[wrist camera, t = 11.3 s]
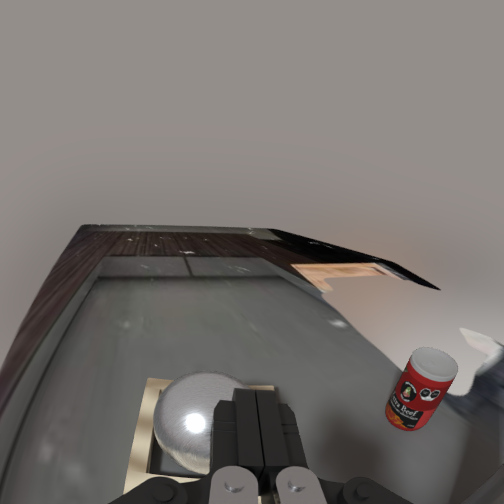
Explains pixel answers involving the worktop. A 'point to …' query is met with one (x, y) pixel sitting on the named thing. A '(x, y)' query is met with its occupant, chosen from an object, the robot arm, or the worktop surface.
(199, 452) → the ball
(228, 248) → the worktop surface
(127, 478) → the hole board
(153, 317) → the worktop surface
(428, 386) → the canned food
